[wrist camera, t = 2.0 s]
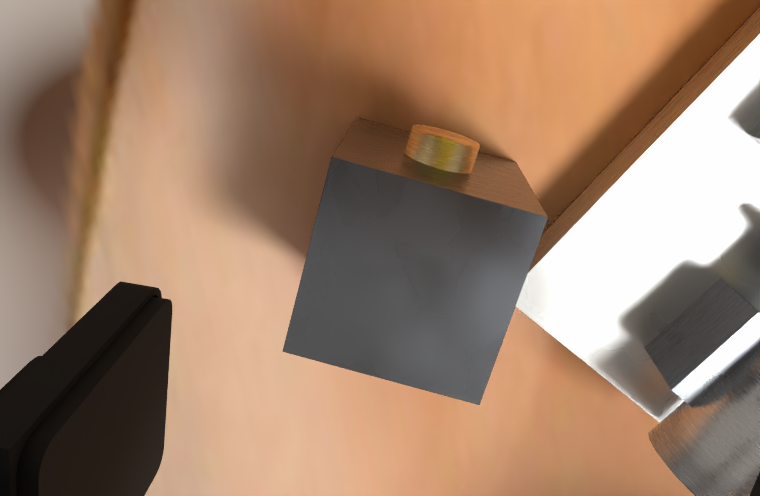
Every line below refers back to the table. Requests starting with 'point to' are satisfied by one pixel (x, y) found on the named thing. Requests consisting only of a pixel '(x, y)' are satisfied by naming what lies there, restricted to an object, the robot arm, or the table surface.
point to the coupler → (415, 259)
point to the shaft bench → (673, 273)
